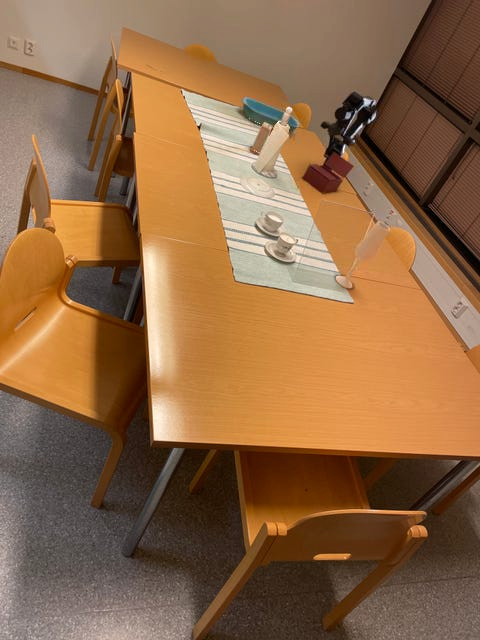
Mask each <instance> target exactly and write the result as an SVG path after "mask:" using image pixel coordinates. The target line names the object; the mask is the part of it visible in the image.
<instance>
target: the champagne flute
mask: <svg viewBox="0 0 480 640" xmlns="http://www.w3.org/2000/svg"><path fill="white" fill-rule="evenodd" d="M390 230H391V229H390V227H389V226H388V225H387V224H386V223H384V222H383V221H376V223H375V224H374V225H373V226H372V227H371V229H370V230H369V231H368V232H367V233H366V235H365V236H364V237H363V238H362V240H361V241H360V242H358V244H357V246H356V247H355V251H354V252H355V258H356V261H355V263H354V264H353V266H352V267H351V269H350V270H349V271H348V273H347V274H346V276H344V275H337V276H335V280H336V281H337V283H338V284H339V285H340V286H341V287H343V288H346V289H353V283H352V282H351V280H350V277H351V276H352V275H353V274H354V272H355V271H356V269H357V267H358V266H359V265H360V264H361V263H365V262H369V261H372V260H374V258H375V256H376V254H377V253H378V251H379V249H380V247H381V246H382V244H383V242H384V240H385V238H386V237H387V236H388V234H389V232H390Z"/></svg>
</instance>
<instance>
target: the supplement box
mask: <svg viewBox="0 0 480 640" xmlns="http://www.w3.org/2000/svg"><path fill="white" fill-rule="evenodd" d="M272 127H273V126H272V125H270V124H268V123H266V122H264V123H263V124H262V125H260V129H259V131H258V133H257V135H256V136H255V137H256V138H255V140H254V142H253V144H252V146H251V148H250V152H252V153H254V154H256V155H260V154H261V151H262V150H263V148H264V146H265V144H266V142H267V140H268V138H269V136H270V133H271V131H272V130H273V129H272ZM254 150H255V151H254ZM256 151H257V152H256ZM258 152H260V153H258Z"/></svg>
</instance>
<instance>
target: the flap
mask: <svg viewBox="0 0 480 640" xmlns="http://www.w3.org/2000/svg"><path fill="white" fill-rule="evenodd" d="M325 165H326V166H328V167H329V168H330V169H332V172H334V173H335V174H336V175H338V176H339V177H340V178H342V179H345V178H346V177H347V176H348V174H349V173H350V172H351V171H352V169H353V168H355V165H354V164H352V163H350V162H349V161H348V160H346V159H345V158H344V157H343V156H342V157H341V156H339V155H338V154H337V153H335V152H334V153H333V154H332V155H331V156H330V158H329V159H328V160H327V162H326V163H325Z"/></svg>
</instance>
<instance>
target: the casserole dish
mask: <svg viewBox="0 0 480 640" xmlns="http://www.w3.org/2000/svg"><path fill="white" fill-rule="evenodd" d="M241 102H242V104H243V105H242V110H243V113H244V114H245V116H246V118H247V119H248V120H249V121H250V122H252V123H254V124H256V125H259V126H262V124H263V123H264V122H266V123H268V124H270V125H272V126H273V127H274V125H275V124H276V123H277V122H278V121H279V120H281V119H282V116H283V114H284V112H285V111H284V110H281V109H279V108H276V107H273V106H271V105H268V104H266V103H263V102H261V101H258V100H256V99H254V98H251V97H244V98H243V99H241ZM249 118H250V119H249ZM273 118H274V119H273ZM276 119H277V120H276ZM255 121H256V122H255ZM257 122H258V123H257ZM259 123H260V124H259ZM288 125H289V126H290V129H289V134H288V135H291V134H292V133H294V132H295V131H296V130H297V129H298V127H299V126H300V122H299V121H298V120H297V119H296V118H294V117H293V116H292V115H291V116H290V119H289V121H288ZM271 130H273V128H272V129H271Z"/></svg>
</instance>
